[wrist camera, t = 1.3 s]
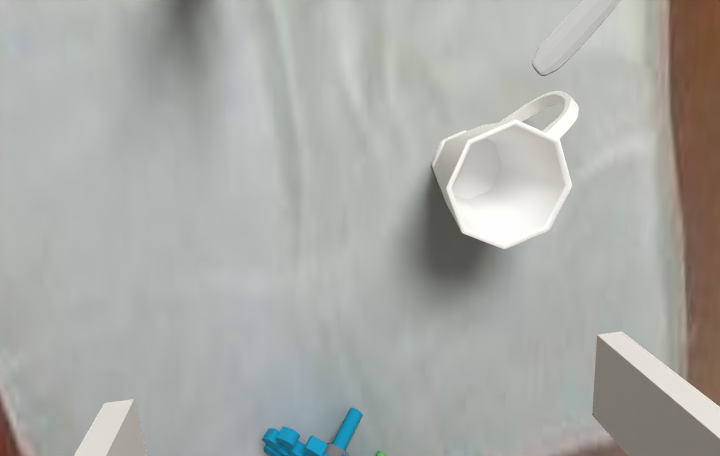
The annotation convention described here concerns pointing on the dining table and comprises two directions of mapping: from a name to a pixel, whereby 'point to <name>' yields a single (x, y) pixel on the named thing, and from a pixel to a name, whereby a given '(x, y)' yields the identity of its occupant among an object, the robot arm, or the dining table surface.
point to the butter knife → (571, 34)
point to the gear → (312, 440)
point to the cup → (507, 174)
